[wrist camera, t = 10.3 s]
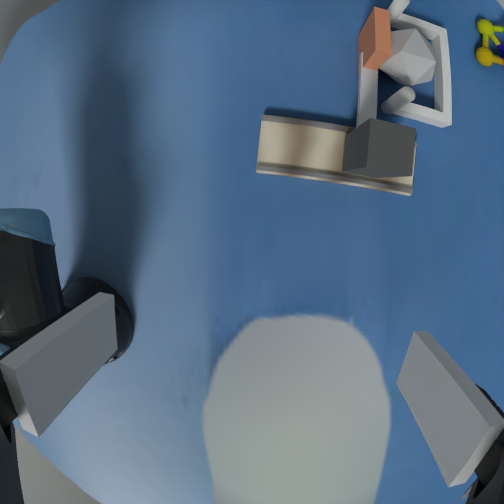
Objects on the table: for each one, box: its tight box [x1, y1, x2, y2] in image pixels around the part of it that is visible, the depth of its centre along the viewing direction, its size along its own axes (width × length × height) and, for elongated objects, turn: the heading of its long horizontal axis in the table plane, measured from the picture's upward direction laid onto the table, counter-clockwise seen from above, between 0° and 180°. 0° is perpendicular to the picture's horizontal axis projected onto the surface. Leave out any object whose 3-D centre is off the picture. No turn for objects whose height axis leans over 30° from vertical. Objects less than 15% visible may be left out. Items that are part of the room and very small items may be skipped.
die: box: [379, 28, 436, 86], centre depth 33 cm, size 8×9×10 cm
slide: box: [256, 115, 417, 196], centre depth 40 cm, size 22×8×2 cm, turn 84°
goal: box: [381, 0, 452, 128], centre depth 33 cm, size 10×18×8 cm, turn 174°
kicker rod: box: [341, 7, 416, 178], centre depth 32 cm, size 5×22×13 cm, turn 174°
